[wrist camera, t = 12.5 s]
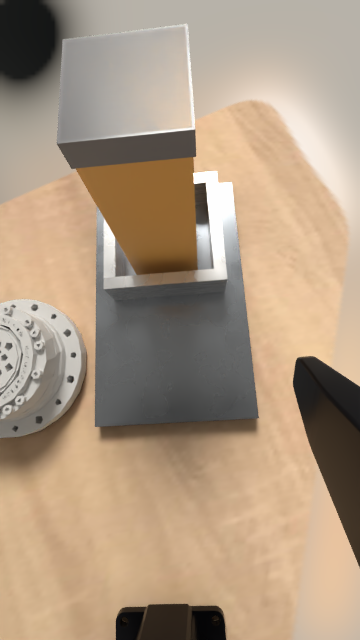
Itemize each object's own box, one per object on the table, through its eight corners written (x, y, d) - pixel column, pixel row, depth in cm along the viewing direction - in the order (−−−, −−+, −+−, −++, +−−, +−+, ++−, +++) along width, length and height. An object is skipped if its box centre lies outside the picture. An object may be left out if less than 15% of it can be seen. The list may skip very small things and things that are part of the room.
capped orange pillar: (199, 272, 22) (195, 129, 10) (135, 276, 22) (56, 143, 10) (195, 215, 23) (187, 23, 11) (135, 220, 23) (62, 39, 11)
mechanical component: (-9, 462, 21) (111, 388, 22) (-62, 480, 17) (89, 388, 18) (-55, 345, 24) (55, 281, 24) (-112, 336, 19) (23, 258, 20)
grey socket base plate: (256, 416, 20) (266, 422, 17) (100, 425, 21) (80, 432, 18) (230, 190, 25) (235, 158, 21) (101, 203, 25) (85, 174, 22)
